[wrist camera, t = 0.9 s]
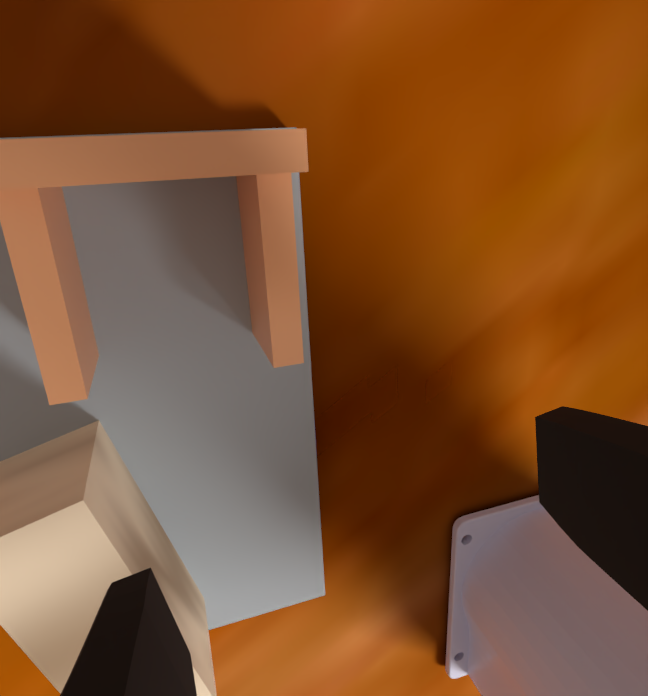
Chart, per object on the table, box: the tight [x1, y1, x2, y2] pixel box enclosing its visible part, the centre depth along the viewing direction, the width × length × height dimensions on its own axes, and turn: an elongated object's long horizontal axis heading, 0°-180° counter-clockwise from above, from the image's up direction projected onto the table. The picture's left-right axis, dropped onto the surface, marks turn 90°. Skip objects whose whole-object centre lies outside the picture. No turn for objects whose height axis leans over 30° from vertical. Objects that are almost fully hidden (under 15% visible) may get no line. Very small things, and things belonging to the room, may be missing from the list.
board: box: [0, 127, 325, 630], centre depth 16 cm, size 17×10×1 cm, turn 2°
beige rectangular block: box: [0, 420, 217, 696], centre depth 15 cm, size 8×3×4 cm, turn 17°
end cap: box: [0, 129, 308, 405], centre depth 12 cm, size 6×6×4 cm
